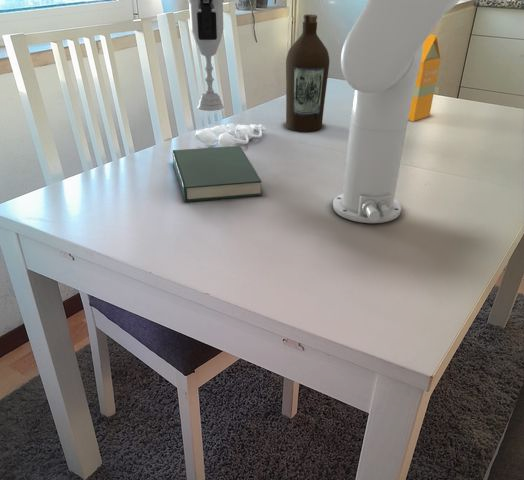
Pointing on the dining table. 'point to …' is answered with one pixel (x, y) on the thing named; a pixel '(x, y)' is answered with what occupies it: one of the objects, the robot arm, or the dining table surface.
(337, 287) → the dining table surface
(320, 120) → the olive oil
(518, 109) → the dining table surface
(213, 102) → the chalice
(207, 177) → the book
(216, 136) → the tangled rod sculpture
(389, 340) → the dining table surface
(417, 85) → the orange juice
